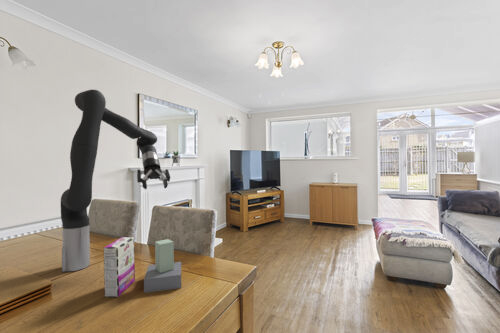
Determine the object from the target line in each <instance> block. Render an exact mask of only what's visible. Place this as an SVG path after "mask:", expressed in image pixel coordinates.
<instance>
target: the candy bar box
mask: <svg viewBox="0 0 500 333" xmlns="http://www.w3.org/2000/svg"><path fill="white" fill-rule="evenodd" d="M135 264H136V263H135V237H134V236H133V237H131V236H130V237H129V236H127V237H126V236H123V237H120V238H119V239H116V240H115V241H113V242H112V243H110V244H107V245H106V246H105V247H103V276H104V297H107V298H113V297H114V298H116V297H117V298H118V297H119V298H120V296H121V295H123V293H124V292H125V291H126V290H127V289H128V288H129V287H130V286H132V285H133V283H134V282H136V278H135V275H136V274H135V270H136V269H135Z"/></svg>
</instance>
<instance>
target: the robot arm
mask: <svg viewBox="0 0 500 333" xmlns="http://www.w3.org/2000/svg"><path fill="white" fill-rule="evenodd" d="M106 102H107V100H106V98H105V96H104V94H103V93H102V92H101V91H100V90H97V89H88V90H84V91H80V92H79V93H78V94H76V95H75V97H74V104H75V106H76V107H77V108H78V109H79V111H81V112H82V115H81V116H82V117H81V121H80V123H79V126H78V127H77V129H76V131H75V133H74V136H73V138H72V141H71V145H70V153H69V160H70V168H71V178H70V179H71V180H70V185H69V188H68V189H66V190H65V191H64V192H63V193H62V195H61V197H60V219H61V222H62V223H61V224H62V225H61V226H62V247H61V272H62V273H64V272H76V271H79V270H83V269H85V268H87V267H89V266H90V258H91V256H90V255H91V254H90V248H91V247H90V245H91V244H90V243H91V242H90V217H89V215H88V207H89V206H90V205H91V203H92V199H93V178H94V176H93V175H94V171H95V168H96V167H95V166H96V160H97V154H98V147H99V138H100V133H101V132H100V131H101V124H102V122H104V123H106V124H107V125H109V126H111V127H113V128H114V129H116V130H117V131H119V132H120V133H122V134H124V135H125V136H126V137H128V138H130V139H131V140H135V139H137V140H136V146H137V147H138V149H139V150H140V152H141V159H142V166H143V170H141V169H137V172H136V178H137V179H136V180H137V181H136V182H137V183H138V184H139V183H141V184H142V188H143V189H144V190H147V188H148V185H147V181H148V180H158V181H161V182H162V184H163V188H164V189H167V188H168V186H169V185H168V182H170V180H171V176H170V172H169V169H165V170H162V167H161V164H160V160H159V157H158V156H159V155H158V152H157V148H156V147H155V144H156V143H157V142H158V137H157V135H156V134H155V133H154V132H152V131H150V130H148V129H144V128H143V127H140V126H138V125H137V124H135V123H134V122H133V121H132V120H130V119H128V118H126V117H124V116H122V115H120V114H117V113H116V112H114V111H111V110H110V109H108V108H107V107H106V105H107V104H106ZM142 175H144V176H143V177H142Z"/></svg>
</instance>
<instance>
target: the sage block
mask: <svg viewBox="0 0 500 333" xmlns="http://www.w3.org/2000/svg"><path fill="white" fill-rule="evenodd" d="M154 243H155V244H154V248H155V249H154V256H155V257H154V258H155V260H154V261H155V263H154V265H155V269H156V270H157V271H158V272H160V273H162V272H166V271H169V270H173V269H174V262H175V259H174V258H175V256H174V254H175V253H174V251H175V249H174V247H175V244H174V241H173V240H171V239H169V238H167V239H161V240H156V241H154Z"/></svg>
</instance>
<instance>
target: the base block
mask: <svg viewBox="0 0 500 333" xmlns="http://www.w3.org/2000/svg"><path fill="white" fill-rule="evenodd" d="M176 289H182V261H176V262H175V261H174V269H173V270H169V271H166V272H162V273H160V272H158V271H157V270H156V269H155V264H148V266H147V270H146V273H145V275H144V278H143V293H144V294H145V293H146V294H147V293H154V292H161V291H163V292H164V291H168V290H169V291H170V290H176Z"/></svg>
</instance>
